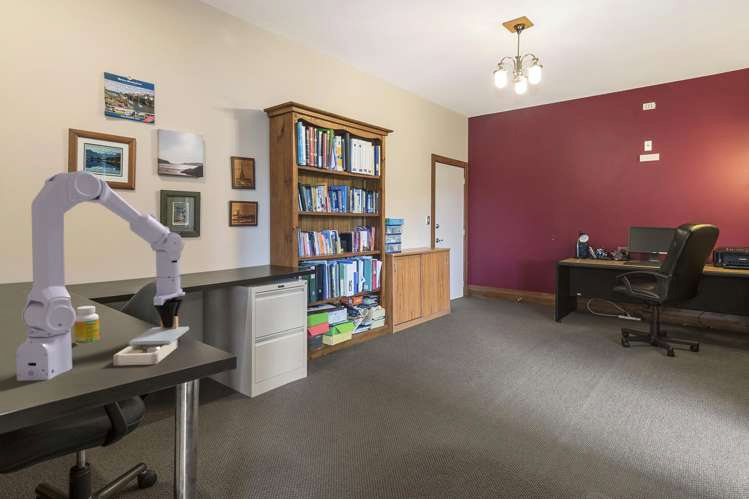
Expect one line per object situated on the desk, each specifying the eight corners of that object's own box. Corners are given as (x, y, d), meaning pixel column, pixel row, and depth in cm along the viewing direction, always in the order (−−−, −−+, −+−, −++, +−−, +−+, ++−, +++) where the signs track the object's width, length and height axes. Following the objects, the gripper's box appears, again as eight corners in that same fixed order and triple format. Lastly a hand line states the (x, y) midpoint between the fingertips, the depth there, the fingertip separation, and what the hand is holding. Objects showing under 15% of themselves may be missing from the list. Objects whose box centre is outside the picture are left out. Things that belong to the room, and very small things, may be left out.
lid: (170, 343, 99) (169, 328, 98) (129, 344, 98) (128, 329, 97) (188, 329, 112) (188, 315, 112) (152, 330, 111) (152, 316, 111)
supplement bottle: (86, 346, 107) (85, 309, 106) (69, 344, 108) (68, 308, 107) (104, 340, 112) (103, 305, 112) (88, 339, 113) (86, 304, 113)
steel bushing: (155, 357, 95) (154, 349, 95) (144, 357, 96) (144, 349, 96) (163, 353, 98) (162, 345, 98) (152, 353, 98) (152, 345, 98)
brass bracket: (137, 362, 92) (137, 354, 92) (123, 363, 92) (123, 354, 91) (143, 358, 95) (143, 350, 95) (129, 358, 95) (129, 350, 94)
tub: (156, 367, 91) (156, 354, 91) (113, 368, 90) (113, 355, 90) (177, 349, 104) (177, 338, 104) (140, 350, 103) (140, 339, 103)
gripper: (173, 280, 103) (175, 333, 104) (192, 273, 117) (193, 320, 118) (144, 280, 102) (145, 333, 103) (167, 273, 116) (168, 320, 117)
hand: (169, 326), depth 110 cm, fingers closed on lid, 2 cm apart
